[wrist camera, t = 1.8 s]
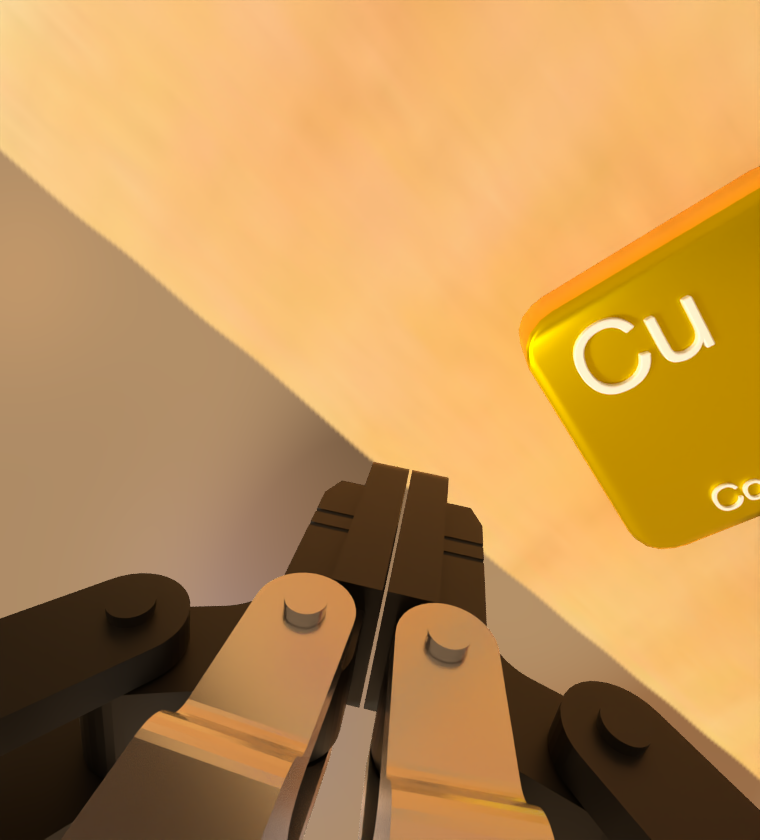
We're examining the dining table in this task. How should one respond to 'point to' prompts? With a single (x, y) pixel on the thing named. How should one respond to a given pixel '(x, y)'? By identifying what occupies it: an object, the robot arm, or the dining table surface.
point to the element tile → (664, 369)
